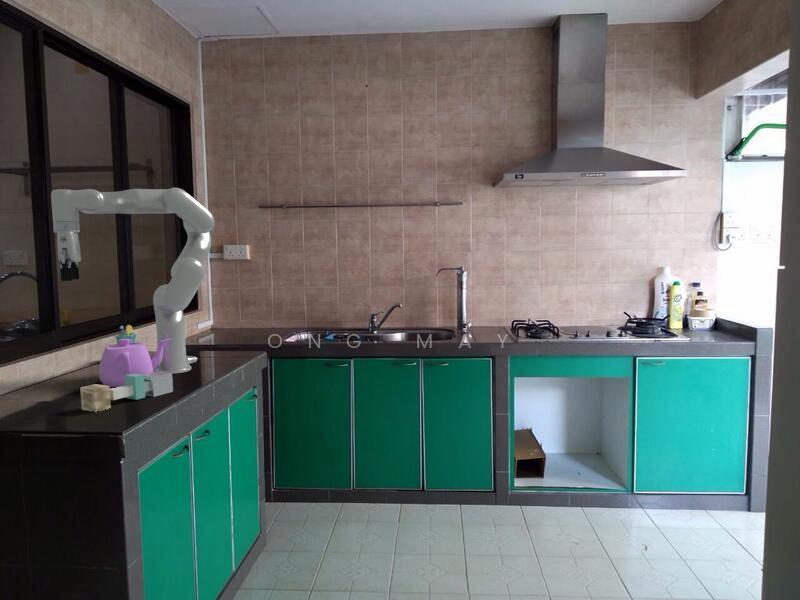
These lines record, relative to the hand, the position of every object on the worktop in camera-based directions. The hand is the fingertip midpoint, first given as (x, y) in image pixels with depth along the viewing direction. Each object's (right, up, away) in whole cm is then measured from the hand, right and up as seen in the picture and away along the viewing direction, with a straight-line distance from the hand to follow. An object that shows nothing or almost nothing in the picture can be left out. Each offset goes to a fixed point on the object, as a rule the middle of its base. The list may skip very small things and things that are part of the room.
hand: (70, 280), depth 200 cm
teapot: (+19, -35, +2) cm, 39 cm away
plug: (+31, -35, -19) cm, 51 cm away
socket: (+24, -37, -31) cm, 54 cm away
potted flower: (-1, -31, +44) cm, 54 cm away
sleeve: (+34, -35, -14) cm, 51 cm away
